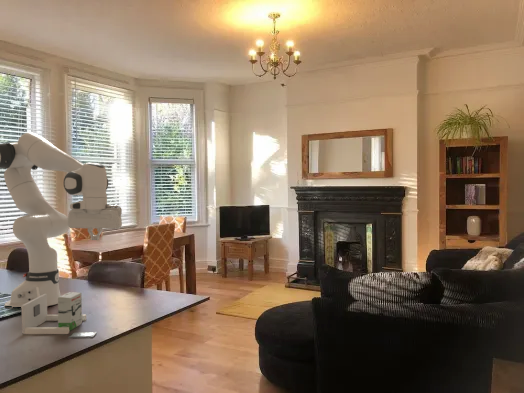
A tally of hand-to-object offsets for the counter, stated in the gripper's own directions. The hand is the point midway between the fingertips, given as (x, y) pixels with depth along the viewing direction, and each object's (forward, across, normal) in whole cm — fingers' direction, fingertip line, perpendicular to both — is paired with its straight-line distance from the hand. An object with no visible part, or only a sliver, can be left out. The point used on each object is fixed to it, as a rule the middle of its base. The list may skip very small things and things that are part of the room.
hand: (95, 239), depth 179 cm
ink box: (+30, +4, +14) cm, 33 cm away
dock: (+30, +9, +14) cm, 34 cm away
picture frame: (+30, -5, +24) cm, 39 cm away
